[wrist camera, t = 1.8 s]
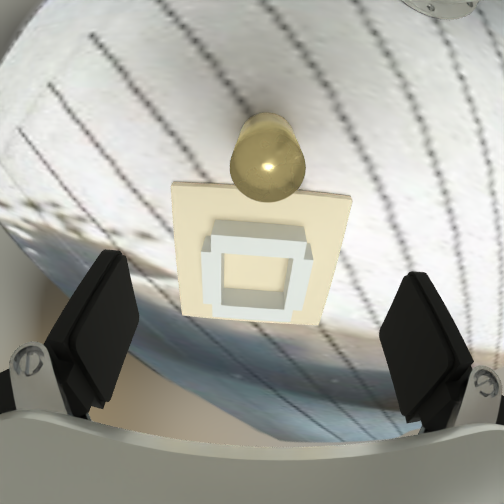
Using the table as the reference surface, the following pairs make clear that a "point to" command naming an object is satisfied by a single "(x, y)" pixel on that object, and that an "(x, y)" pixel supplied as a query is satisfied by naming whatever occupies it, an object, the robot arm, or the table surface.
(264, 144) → the cylinder
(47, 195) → the table surface
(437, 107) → the table surface
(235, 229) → the sleeve block
